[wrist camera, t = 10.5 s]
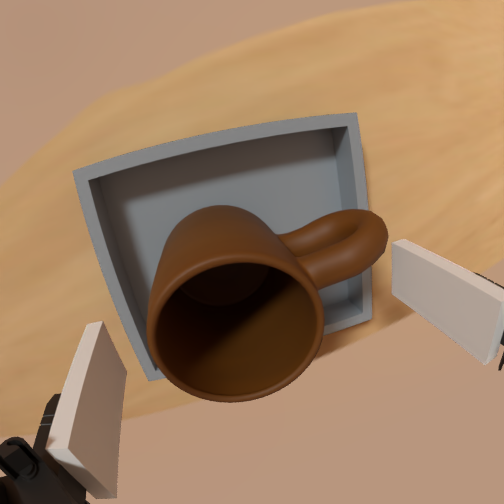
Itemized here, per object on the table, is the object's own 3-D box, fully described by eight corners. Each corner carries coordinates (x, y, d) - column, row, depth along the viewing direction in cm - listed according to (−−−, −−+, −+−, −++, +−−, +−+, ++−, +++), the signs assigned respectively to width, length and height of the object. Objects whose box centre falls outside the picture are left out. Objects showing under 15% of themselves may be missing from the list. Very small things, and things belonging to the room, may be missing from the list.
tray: (150, 356, 23) (148, 381, 20) (87, 167, 18) (72, 170, 15) (353, 301, 26) (371, 318, 23) (335, 115, 20) (356, 112, 18)
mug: (299, 144, 19) (377, 149, 11) (347, 240, 22) (427, 299, 13) (139, 242, 20) (103, 317, 11) (203, 327, 23) (212, 426, 14)
